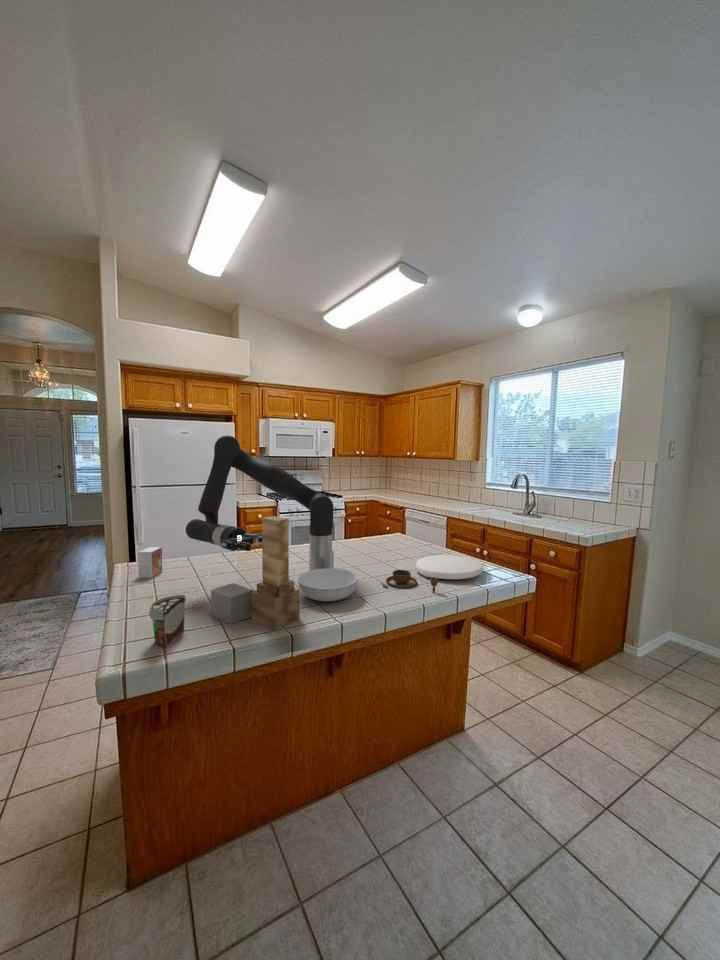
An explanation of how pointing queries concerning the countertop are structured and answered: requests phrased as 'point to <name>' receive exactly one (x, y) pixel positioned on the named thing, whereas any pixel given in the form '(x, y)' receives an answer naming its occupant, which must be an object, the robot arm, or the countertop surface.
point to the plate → (449, 567)
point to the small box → (150, 562)
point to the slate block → (231, 603)
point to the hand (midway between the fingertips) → (261, 544)
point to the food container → (168, 619)
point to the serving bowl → (328, 584)
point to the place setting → (406, 580)
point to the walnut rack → (274, 605)
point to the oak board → (275, 551)
